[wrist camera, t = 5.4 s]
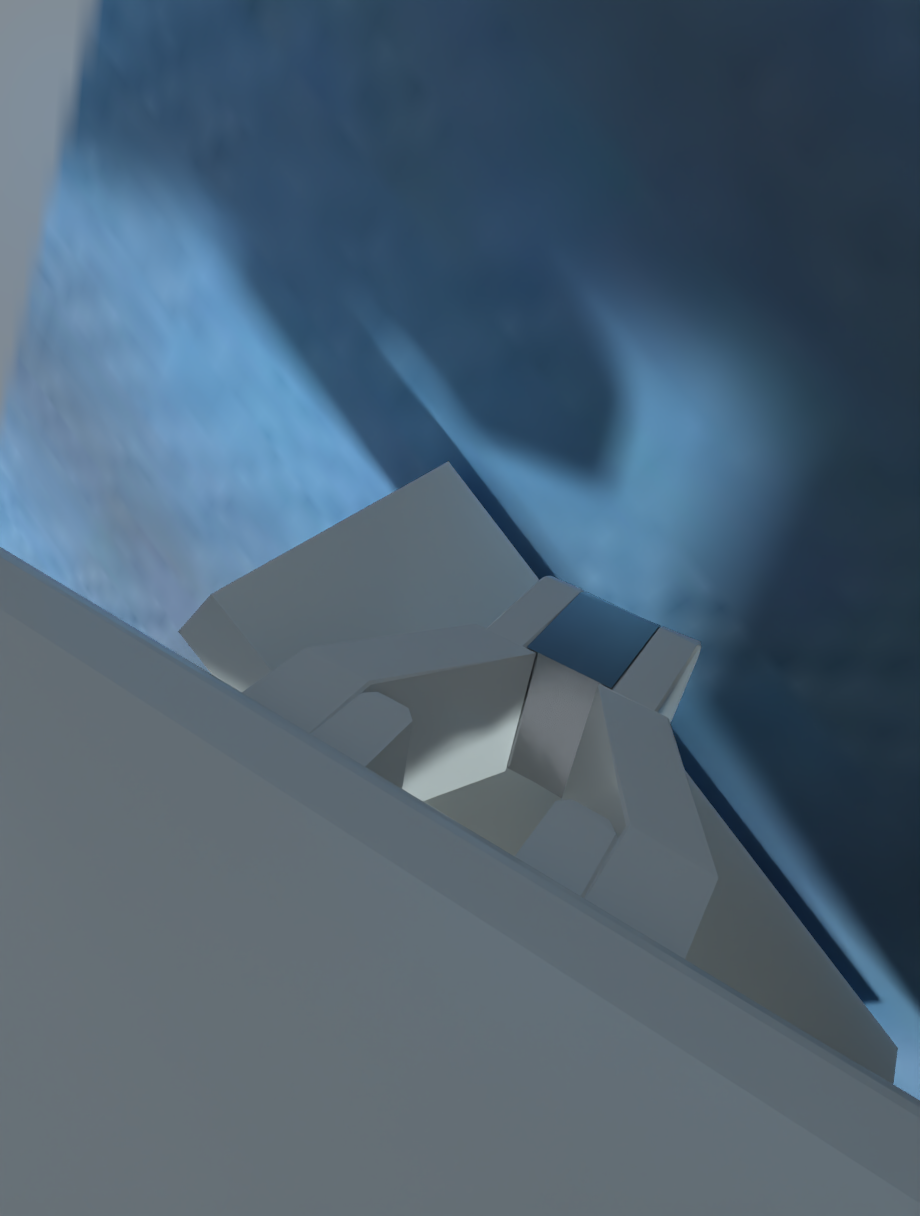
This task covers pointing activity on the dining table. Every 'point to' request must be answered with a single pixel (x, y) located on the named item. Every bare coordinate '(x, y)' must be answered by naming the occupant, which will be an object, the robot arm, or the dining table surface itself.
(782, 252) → the dining table surface
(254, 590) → the side door
